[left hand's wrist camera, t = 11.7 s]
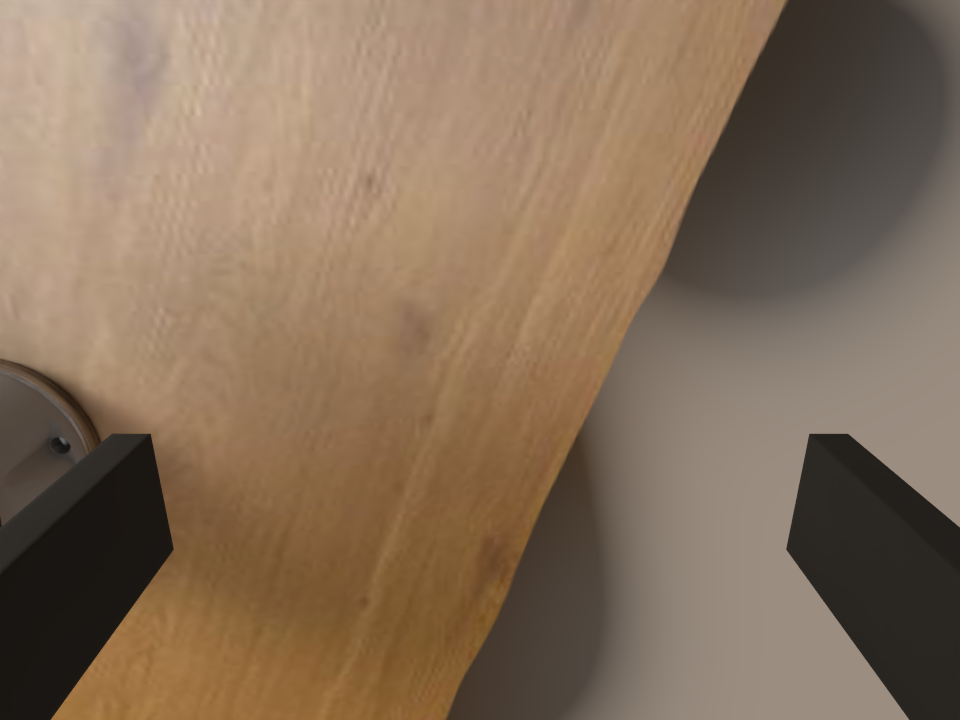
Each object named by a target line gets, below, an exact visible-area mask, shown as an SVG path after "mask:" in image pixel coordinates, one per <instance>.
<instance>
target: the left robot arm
mask: <svg viewBox="0 0 960 720" xmlns="http://www.w3.org/2000/svg"><path fill="white" fill-rule="evenodd" d="M173 550H174V549H173V544H172V539H171V534H170V529H169V524H168V519H167V514H166V509H165V504H164V499H163V494H162V489H161V484H160V479H159V474H158V469H157V464H156V459H155V454H154V449H153V444H152V439H151V434H111V435H110V436H109V437H108V438H107V439H105V440H104V441H103V442H102V443H101V444H100V443H99V440H98V437H97V435H96V433H95V431H94V429H93V427H92V425H91V423H90V421H89V420H88V418H87V417H86V415H85V414H84V413H83V411H82V410H81V409H80V408H79V406H78V405H77V404H76V403H75V402H74V401H73V400H72V399H71V398H70V397H69V396H68V395H67V394H66V393H65V392H64V391H63V390H61V389H60V388H59V387H58V386H56V385H55V384H54V383H52V382H51V381H49V380H48V379H46V378H45V377H43V376H41V375H39V374H38V373H36V372H34V371H32V370H30V369H27V368H25V367H23V366H20V365H17V364H14V363H11V362H8V361H4V360H0V720H51V718H52V717H53V716H54V714H55V713H56V712H57V710H58V709H59V707H60V706H61V705H62V703H63V702H64V700H65V699H66V698H67V696H68V695H69V694H70V692H71V691H72V689H73V688H74V687H75V685H76V684H77V682H78V681H79V680H80V678H81V677H82V676H83V674H84V673H85V671H86V670H87V669H88V667H89V666H90V664H91V663H92V662H93V660H94V659H95V658H96V656H97V655H98V653H99V652H100V651H101V649H102V648H103V647H104V645H105V644H106V642H107V641H108V640H109V638H110V637H111V635H112V634H113V633H114V631H115V630H116V629H117V627H118V626H119V624H120V623H121V622H122V620H123V619H124V617H125V616H126V615H127V613H128V612H129V611H130V609H131V608H132V606H133V605H134V604H135V602H136V601H137V599H138V598H139V597H140V595H141V594H142V593H143V591H144V590H145V588H146V587H147V586H148V584H149V583H150V581H151V580H152V579H153V577H154V576H155V575H156V573H157V572H158V570H159V569H160V568H161V566H162V565H163V564H164V562H165V561H166V559H167V558H168V557H169V555H170V554H171V552H172V551H173ZM786 550H787V551H788V552H789V554H790V555H791V557H792V558H793V559H794V561H795V562H796V564H797V565H798V566H799V568H800V569H801V570H802V572H803V573H804V575H805V576H806V577H807V579H808V580H809V581H810V583H811V584H812V586H813V587H814V588H815V590H816V591H817V592H818V594H819V595H820V597H821V598H822V599H823V601H824V602H825V604H826V605H827V606H828V608H829V609H830V611H831V612H832V613H833V615H834V616H835V617H836V619H837V620H838V622H839V623H840V624H841V626H842V627H843V629H844V630H845V631H846V633H847V634H848V635H849V637H850V638H851V640H852V641H853V642H854V644H855V645H856V647H857V648H858V649H859V651H860V652H861V653H862V655H863V656H864V658H865V659H866V660H867V662H868V663H869V664H870V666H871V667H872V669H873V670H874V671H875V673H876V674H877V676H878V677H879V678H880V680H881V681H882V682H883V684H884V685H885V687H886V688H887V689H888V691H889V692H890V694H891V695H892V696H893V698H894V699H895V700H896V702H897V703H898V705H899V706H900V707H901V709H902V710H903V711H904V713H905V714H906V716H907V717H908V718H909V720H960V527H958V526H957V525H956V524H955V523H954V522H952V521H951V520H950V519H949V518H948V517H947V516H945V515H944V514H943V513H942V512H941V511H939V510H938V509H937V508H936V507H935V506H933V505H932V504H931V503H930V502H929V501H927V500H926V499H925V498H924V497H923V496H921V495H920V494H919V493H918V492H917V491H915V490H914V489H913V488H912V487H911V486H910V485H908V484H907V483H906V482H905V481H904V480H902V479H901V478H900V477H899V476H898V475H896V474H895V473H894V472H893V471H892V470H890V469H889V468H888V467H887V466H886V465H884V464H883V463H882V462H881V461H880V460H878V459H877V458H876V457H875V456H874V455H873V454H871V453H870V452H869V451H868V450H867V449H865V448H864V447H863V446H862V445H861V444H859V443H858V442H857V441H856V440H855V439H853V438H852V437H851V436H850V435H849V434H809V439H808V444H807V449H806V454H805V459H804V464H803V469H802V474H801V479H800V484H799V489H798V494H797V499H796V504H795V509H794V514H793V519H792V524H791V529H790V534H789V539H788V544H787V549H786Z"/></svg>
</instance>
